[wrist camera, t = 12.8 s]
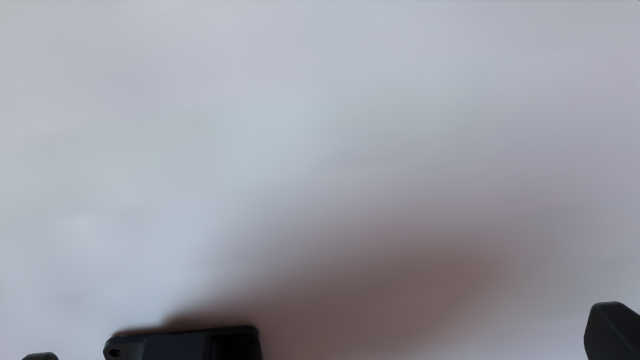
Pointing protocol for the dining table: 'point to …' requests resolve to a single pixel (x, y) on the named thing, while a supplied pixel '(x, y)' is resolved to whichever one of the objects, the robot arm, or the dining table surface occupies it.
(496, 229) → the dining table surface
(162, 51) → the dining table surface
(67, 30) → the dining table surface
